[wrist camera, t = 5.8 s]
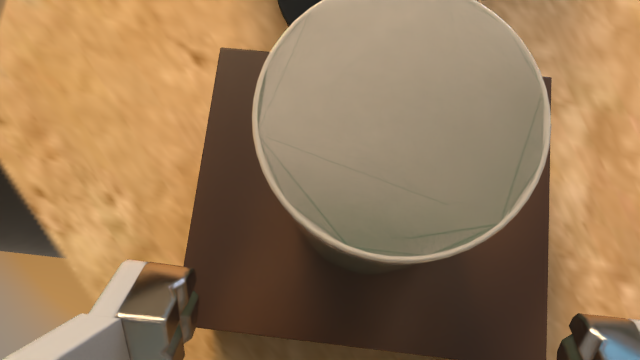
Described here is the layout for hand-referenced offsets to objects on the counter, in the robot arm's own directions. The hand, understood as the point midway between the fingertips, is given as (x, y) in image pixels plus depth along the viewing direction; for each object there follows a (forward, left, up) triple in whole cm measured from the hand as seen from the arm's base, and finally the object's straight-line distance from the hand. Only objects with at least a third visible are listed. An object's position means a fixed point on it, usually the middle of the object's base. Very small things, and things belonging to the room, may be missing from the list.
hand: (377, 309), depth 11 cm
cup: (0, +4, -9) cm, 10 cm away
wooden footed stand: (0, +4, -15) cm, 16 cm away
